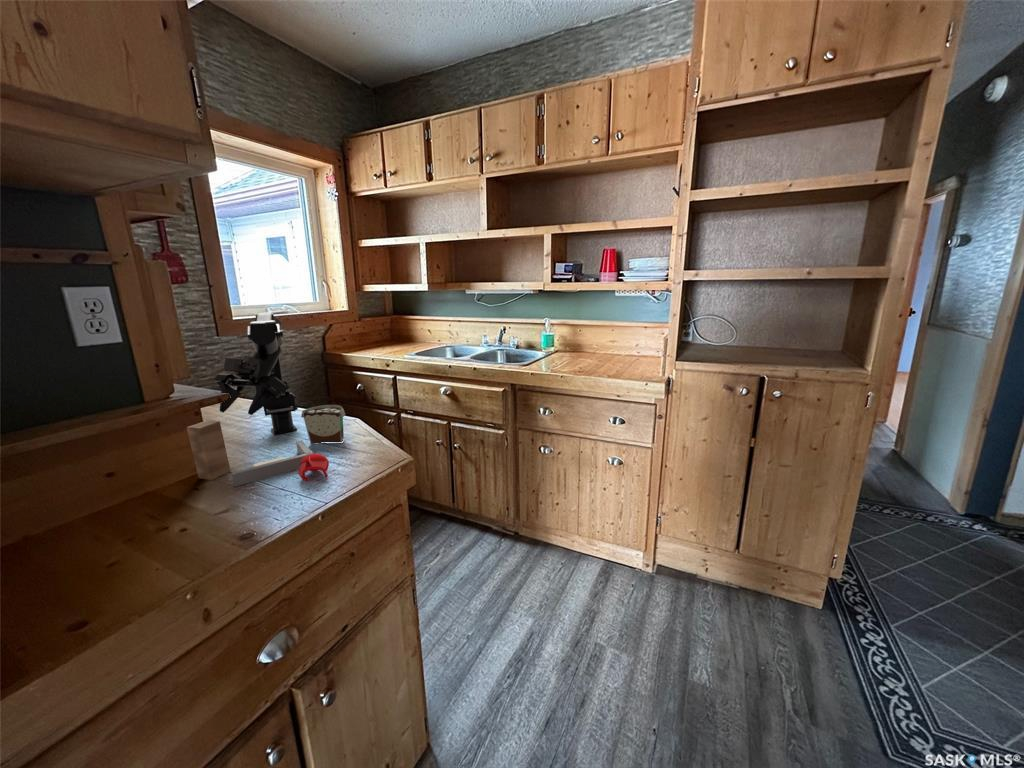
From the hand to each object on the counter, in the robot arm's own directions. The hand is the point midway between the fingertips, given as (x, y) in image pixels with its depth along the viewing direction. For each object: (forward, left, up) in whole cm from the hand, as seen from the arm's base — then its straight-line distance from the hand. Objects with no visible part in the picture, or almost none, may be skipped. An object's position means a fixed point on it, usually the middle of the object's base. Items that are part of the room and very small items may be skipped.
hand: (235, 413), depth 105 cm
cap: (+23, +12, -13) cm, 29 cm away
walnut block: (+4, -7, -13) cm, 16 cm away
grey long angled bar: (+9, +5, -13) cm, 17 cm away
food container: (0, +22, -13) cm, 25 cm away
